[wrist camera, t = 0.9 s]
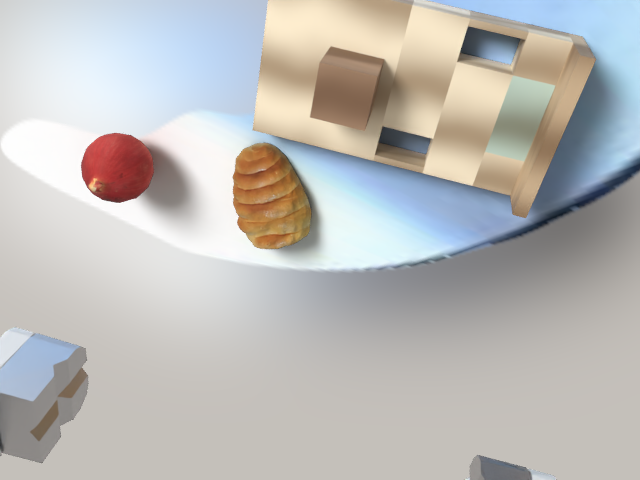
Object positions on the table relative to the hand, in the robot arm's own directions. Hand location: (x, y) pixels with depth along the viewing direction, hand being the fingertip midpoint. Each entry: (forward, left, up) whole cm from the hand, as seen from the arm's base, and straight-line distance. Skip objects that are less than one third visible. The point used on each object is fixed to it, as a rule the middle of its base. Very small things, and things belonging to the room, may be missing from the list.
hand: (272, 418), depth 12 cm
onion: (+17, -21, -38) cm, 47 cm away
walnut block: (+5, -3, -36) cm, 36 cm away
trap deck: (+5, +1, -38) cm, 38 cm away
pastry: (+18, -8, -39) cm, 43 cm away
